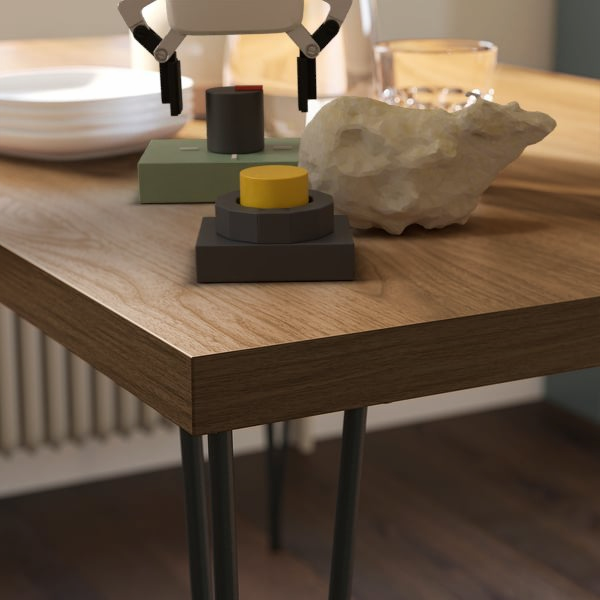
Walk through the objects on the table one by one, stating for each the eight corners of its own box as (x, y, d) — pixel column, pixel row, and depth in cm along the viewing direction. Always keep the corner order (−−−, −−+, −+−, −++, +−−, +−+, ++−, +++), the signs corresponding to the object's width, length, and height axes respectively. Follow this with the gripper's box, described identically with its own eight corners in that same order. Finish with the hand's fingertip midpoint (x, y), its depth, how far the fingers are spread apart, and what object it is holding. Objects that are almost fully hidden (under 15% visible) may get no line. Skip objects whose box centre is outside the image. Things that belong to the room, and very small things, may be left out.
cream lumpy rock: (253, 258, 79) (362, 142, 67) (253, 166, 82) (356, 40, 70) (446, 300, 85) (576, 200, 73) (438, 213, 89) (562, 104, 77)
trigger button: (239, 214, 67) (238, 179, 67) (241, 198, 71) (240, 165, 70) (309, 213, 67) (309, 177, 67) (307, 197, 71) (307, 164, 71)
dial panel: (139, 203, 86) (137, 160, 85) (153, 176, 96) (151, 137, 95) (330, 200, 87) (329, 158, 86) (324, 173, 96) (324, 135, 95)
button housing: (196, 282, 67) (193, 214, 66) (203, 250, 74) (201, 187, 72) (354, 280, 67) (354, 212, 66) (347, 248, 74) (347, 185, 73)
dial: (205, 154, 88) (203, 90, 87) (208, 144, 92) (206, 82, 91) (264, 153, 88) (262, 89, 87) (264, 143, 92) (263, 81, 91)
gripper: (347, -129, 88) (350, 101, 93) (116, -123, 88) (132, 107, 93) (353, -133, 81) (356, 116, 86) (101, -126, 81) (120, 123, 86)
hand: (240, 111), depth 90 cm, fingers open, 9 cm apart
